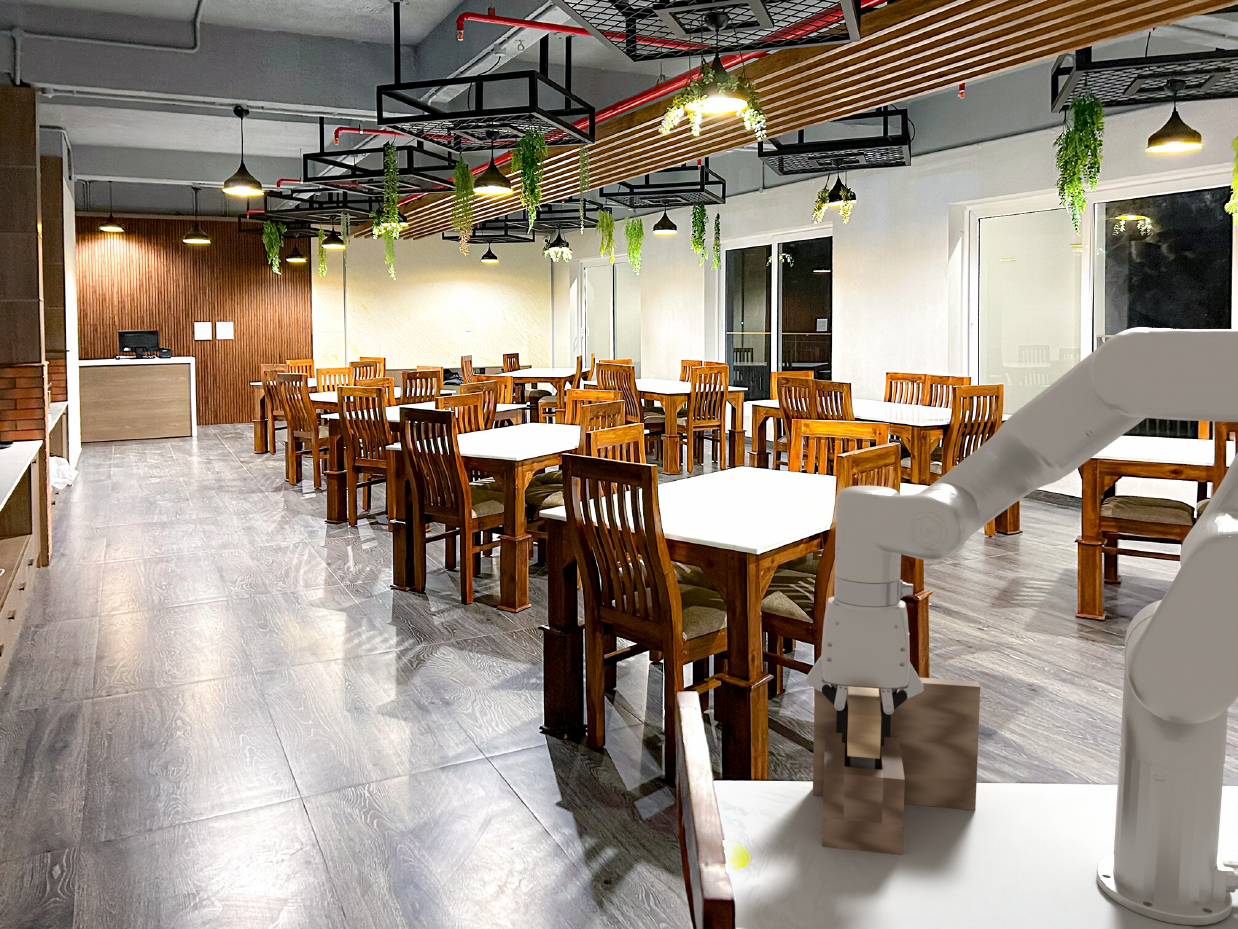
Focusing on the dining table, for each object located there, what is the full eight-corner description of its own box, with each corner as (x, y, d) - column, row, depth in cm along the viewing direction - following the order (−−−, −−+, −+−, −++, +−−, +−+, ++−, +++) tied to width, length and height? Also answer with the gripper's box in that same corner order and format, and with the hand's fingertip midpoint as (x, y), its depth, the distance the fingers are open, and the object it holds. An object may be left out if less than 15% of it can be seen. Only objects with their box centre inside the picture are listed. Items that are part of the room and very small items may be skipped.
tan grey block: (875, 757, 124) (877, 680, 122) (878, 800, 112) (881, 716, 111) (846, 754, 125) (848, 678, 123) (846, 797, 113) (848, 714, 112)
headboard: (973, 803, 125) (978, 681, 123) (990, 863, 110) (996, 727, 108) (813, 788, 129) (815, 670, 127) (809, 844, 115) (811, 713, 113)
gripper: (937, 587, 117) (932, 734, 119) (796, 580, 121) (794, 723, 123) (943, 603, 110) (937, 759, 112) (793, 595, 114) (791, 746, 116)
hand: (862, 738), depth 118 cm, fingers closed on tan grey block, 3 cm apart
